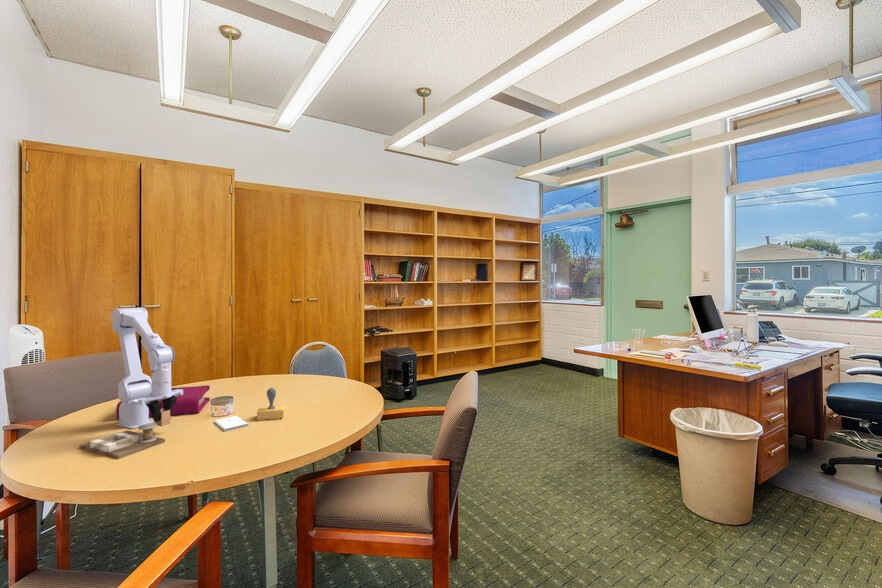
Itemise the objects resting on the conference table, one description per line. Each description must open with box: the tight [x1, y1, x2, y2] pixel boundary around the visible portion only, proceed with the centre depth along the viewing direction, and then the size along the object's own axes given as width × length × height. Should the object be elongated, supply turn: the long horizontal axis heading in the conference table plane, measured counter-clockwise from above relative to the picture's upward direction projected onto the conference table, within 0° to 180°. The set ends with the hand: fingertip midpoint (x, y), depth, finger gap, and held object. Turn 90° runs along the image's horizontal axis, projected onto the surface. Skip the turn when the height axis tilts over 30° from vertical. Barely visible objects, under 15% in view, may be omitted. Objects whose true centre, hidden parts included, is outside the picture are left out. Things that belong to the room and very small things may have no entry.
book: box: [115, 384, 211, 421], centre depth 169 cm, size 21×28×8 cm
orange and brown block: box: [153, 408, 171, 427], centre depth 143 cm, size 4×3×5 cm
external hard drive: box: [214, 415, 249, 432], centre depth 152 cm, size 2×8×12 cm
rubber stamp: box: [256, 387, 287, 421], centre depth 161 cm, size 10×6×12 cm, turn 103°
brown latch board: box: [78, 422, 166, 459], centre depth 132 cm, size 20×14×6 cm
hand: (161, 419), depth 143 cm, fingers closed on orange and brown block, 3 cm apart
